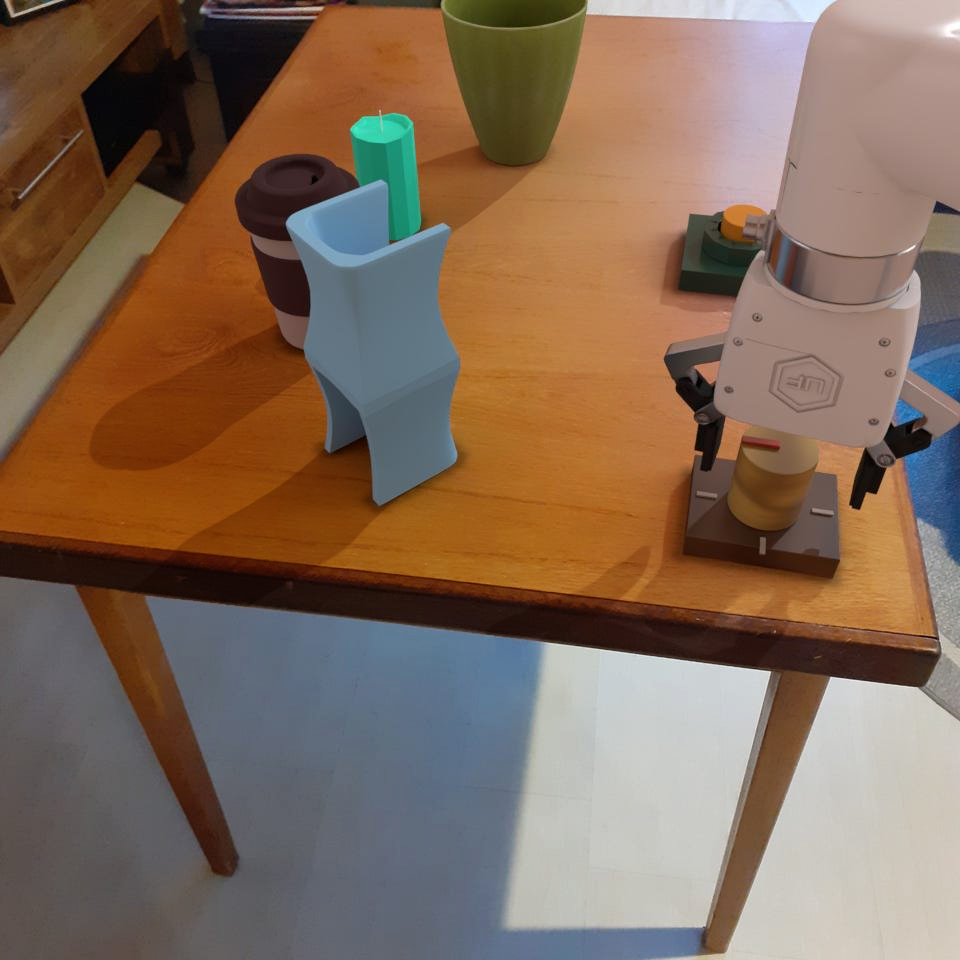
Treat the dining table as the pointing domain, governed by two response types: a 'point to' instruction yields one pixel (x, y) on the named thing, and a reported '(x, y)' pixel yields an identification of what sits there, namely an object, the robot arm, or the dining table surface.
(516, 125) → the flower pot
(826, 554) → the dimmer
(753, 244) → the switch box
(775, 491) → the knob
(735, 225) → the button
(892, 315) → the robot arm
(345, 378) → the light blue open shell
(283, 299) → the coffee cup
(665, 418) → the dining table surface
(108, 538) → the dining table surface
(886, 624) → the dining table surface
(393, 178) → the candle
